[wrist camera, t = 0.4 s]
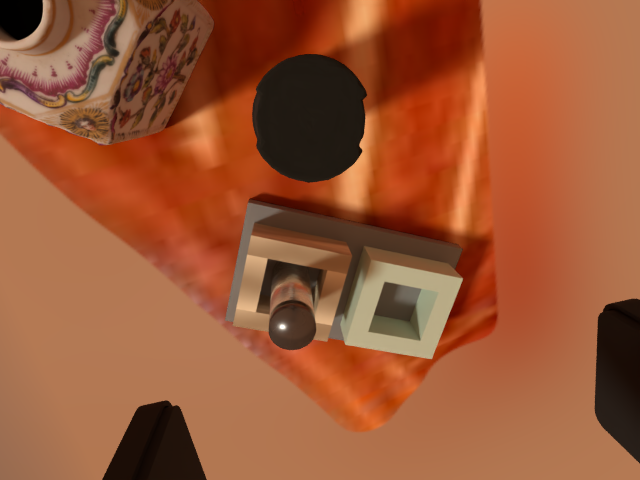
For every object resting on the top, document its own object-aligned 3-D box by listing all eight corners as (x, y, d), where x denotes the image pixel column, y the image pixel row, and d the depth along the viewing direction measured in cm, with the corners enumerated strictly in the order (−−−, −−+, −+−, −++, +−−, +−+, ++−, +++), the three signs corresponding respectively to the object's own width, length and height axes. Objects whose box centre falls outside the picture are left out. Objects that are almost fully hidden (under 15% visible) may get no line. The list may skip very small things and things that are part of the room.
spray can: (334, 74, 39) (380, 53, 20) (329, 145, 41) (367, 186, 22) (264, 69, 38) (245, 43, 19) (264, 142, 40) (245, 182, 22)
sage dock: (363, 245, 43) (371, 259, 40) (448, 263, 45) (463, 278, 41) (340, 324, 46) (345, 344, 43) (420, 338, 48) (431, 358, 44)
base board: (249, 199, 42) (248, 202, 41) (457, 244, 46) (462, 248, 44) (226, 313, 46) (225, 320, 45) (418, 346, 50) (422, 353, 49)
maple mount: (254, 222, 41) (251, 235, 38) (346, 242, 43) (352, 255, 39) (237, 306, 45) (232, 325, 41) (323, 321, 46) (327, 341, 42)
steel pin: (276, 254, 43) (273, 304, 33) (312, 261, 44) (321, 313, 33) (269, 287, 44) (264, 345, 34) (304, 294, 45) (310, 353, 34)
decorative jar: (164, 134, 39) (73, 162, 22) (44, 66, 36) (-163, 39, 20) (220, 19, 36) (165, -49, 20) (95, -65, 34) (-98, -230, 17)
